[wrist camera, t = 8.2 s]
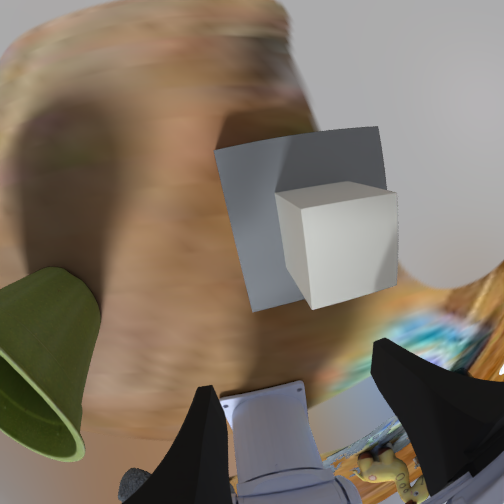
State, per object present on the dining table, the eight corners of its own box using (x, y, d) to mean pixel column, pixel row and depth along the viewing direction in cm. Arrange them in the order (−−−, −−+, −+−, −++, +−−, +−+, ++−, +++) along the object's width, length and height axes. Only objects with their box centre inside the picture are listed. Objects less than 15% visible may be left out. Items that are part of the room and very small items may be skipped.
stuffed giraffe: (422, 431, 34) (455, 490, 19) (341, 478, 37) (360, 539, 21) (404, 404, 29) (451, 485, 14) (300, 462, 32) (319, 545, 17)
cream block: (353, 251, 17) (396, 285, 12) (285, 267, 16) (312, 309, 12) (347, 181, 15) (396, 192, 10) (274, 192, 15) (300, 209, 10)
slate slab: (370, 258, 20) (390, 273, 18) (247, 290, 20) (252, 312, 17) (355, 129, 17) (378, 126, 14) (214, 152, 16) (213, 150, 14)
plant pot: (1, 290, 17) (-68, 356, 6) (56, 205, 16) (-59, 259, 5) (82, 378, 21) (45, 468, 10) (158, 324, 19) (126, 451, 9)
